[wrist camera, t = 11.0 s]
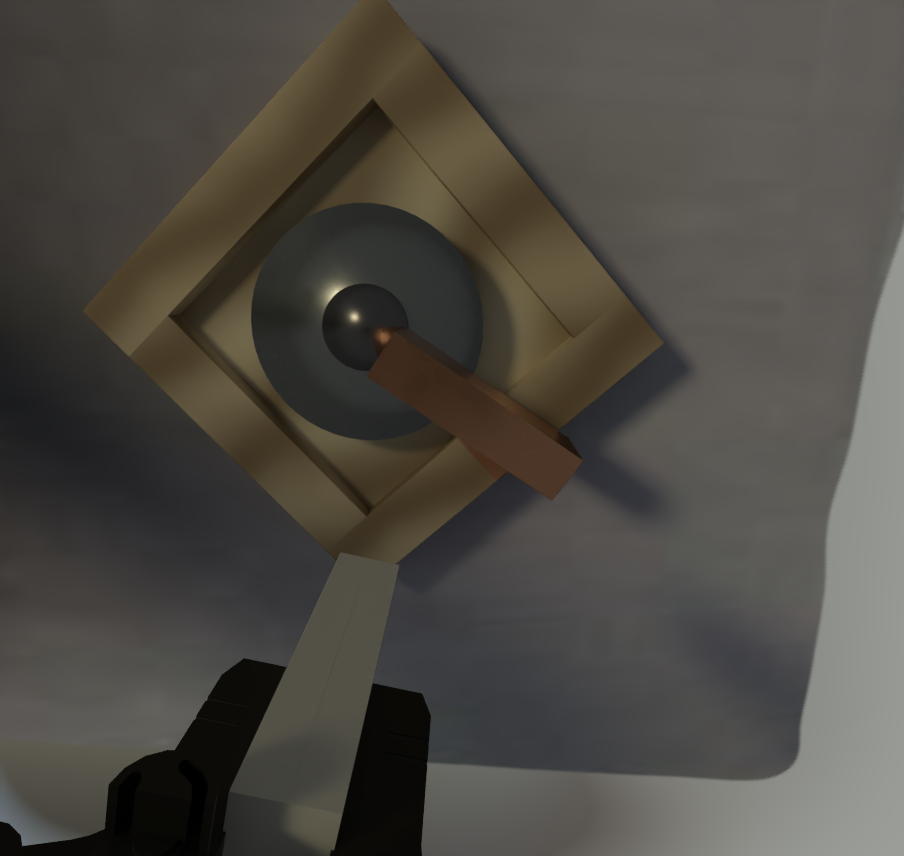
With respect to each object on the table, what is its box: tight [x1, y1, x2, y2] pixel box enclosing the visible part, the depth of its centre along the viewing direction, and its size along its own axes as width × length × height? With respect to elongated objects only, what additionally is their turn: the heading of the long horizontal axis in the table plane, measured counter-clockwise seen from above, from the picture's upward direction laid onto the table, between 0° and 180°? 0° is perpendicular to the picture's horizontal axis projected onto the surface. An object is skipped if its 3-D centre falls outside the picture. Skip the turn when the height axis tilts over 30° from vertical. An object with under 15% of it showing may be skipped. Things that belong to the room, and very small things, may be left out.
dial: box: [251, 203, 583, 500], centre depth 25 cm, size 16×11×5 cm, turn 56°
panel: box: [83, 0, 664, 564], centre depth 27 cm, size 20×20×3 cm
